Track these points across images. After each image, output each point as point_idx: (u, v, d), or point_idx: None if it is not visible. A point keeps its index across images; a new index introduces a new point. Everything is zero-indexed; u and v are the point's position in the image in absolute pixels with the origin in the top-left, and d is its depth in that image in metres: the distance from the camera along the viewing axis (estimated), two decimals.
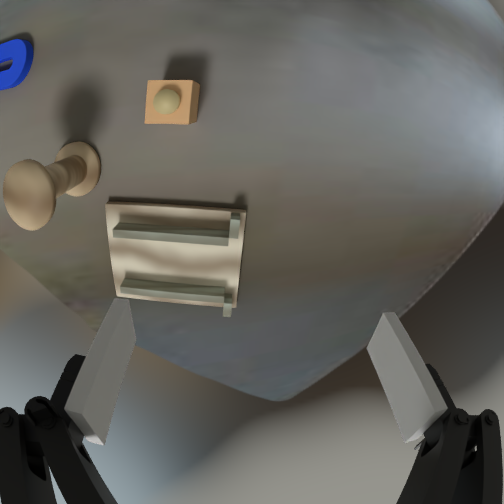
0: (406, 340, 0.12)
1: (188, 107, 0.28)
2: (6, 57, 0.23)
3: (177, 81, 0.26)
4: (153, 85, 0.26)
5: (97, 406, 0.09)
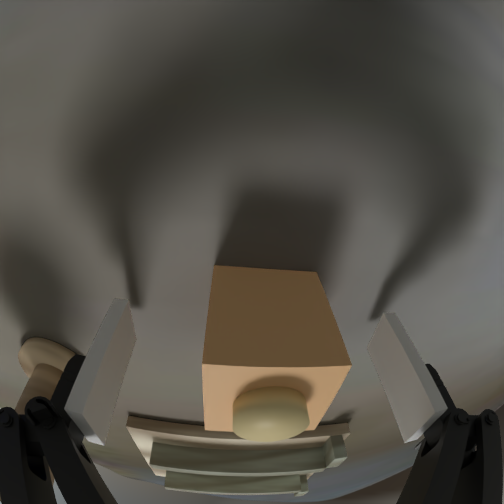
0: (406, 340, 0.12)
1: (321, 411, 0.10)
2: None
3: (303, 371, 0.09)
4: (223, 376, 0.09)
5: (97, 406, 0.09)
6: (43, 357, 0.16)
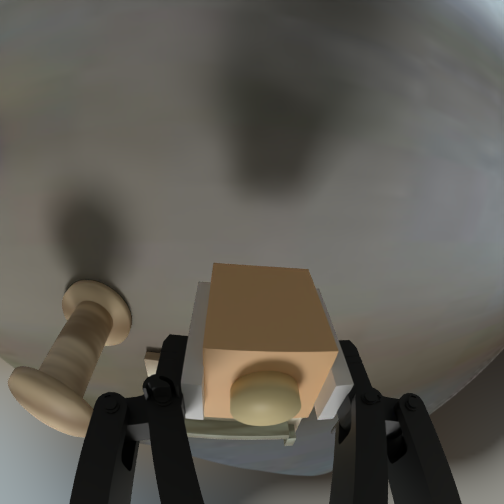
0: None
1: (313, 398, 0.12)
2: None
3: (294, 355, 0.10)
4: (221, 360, 0.10)
5: None
6: (87, 294, 0.25)
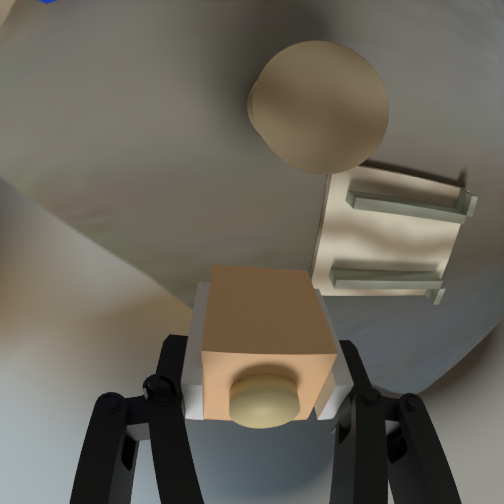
0: None
1: (312, 400, 0.12)
2: None
3: (293, 358, 0.10)
4: (220, 363, 0.10)
5: None
6: None
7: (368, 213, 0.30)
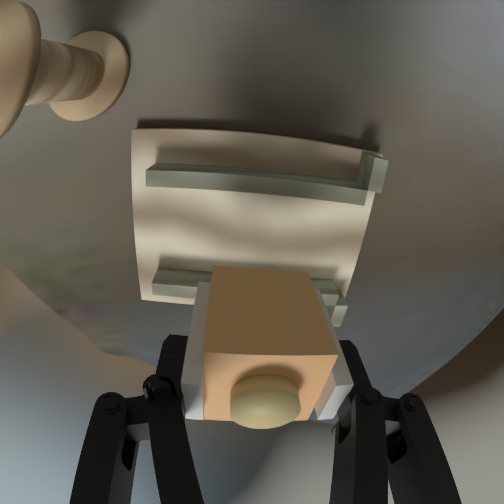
0: None
1: (313, 400, 0.12)
2: None
3: (294, 359, 0.10)
4: (221, 363, 0.10)
5: None
6: (84, 42, 0.15)
7: (192, 193, 0.22)
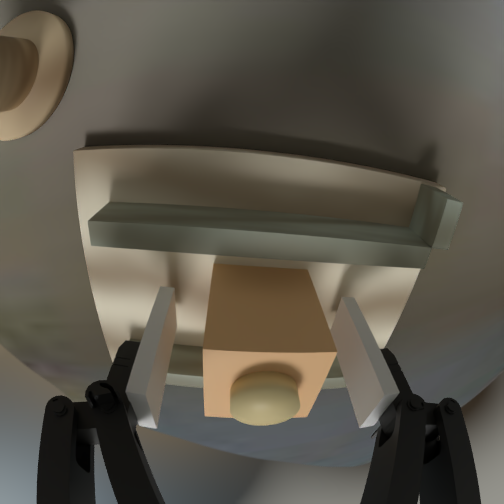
0: (362, 323, 0.13)
1: (312, 397, 0.12)
2: None
3: (293, 356, 0.10)
4: (221, 361, 0.10)
5: (154, 388, 0.10)
6: (17, 29, 0.08)
7: None
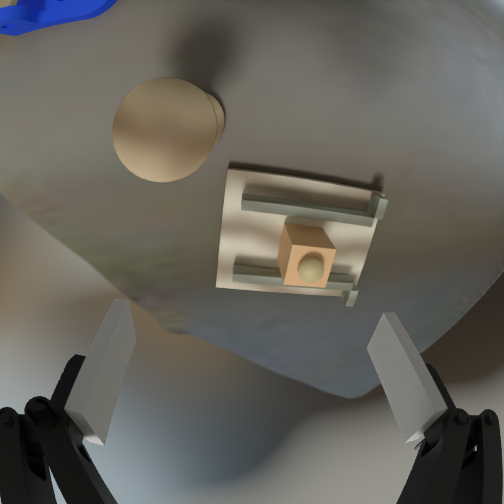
0: (406, 340, 0.12)
1: (327, 274, 0.32)
2: None
3: (321, 249, 0.31)
4: (297, 250, 0.31)
5: (97, 406, 0.09)
6: None
7: (265, 214, 0.35)
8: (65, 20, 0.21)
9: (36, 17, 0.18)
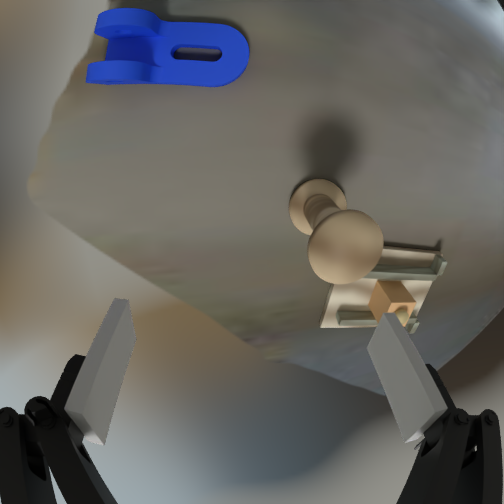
0: (406, 340, 0.12)
1: (408, 318, 0.41)
2: (207, 44, 0.27)
3: (408, 303, 0.40)
4: (393, 305, 0.40)
5: (97, 406, 0.09)
6: (322, 188, 0.37)
7: None
8: (184, 84, 0.30)
9: (149, 75, 0.27)
